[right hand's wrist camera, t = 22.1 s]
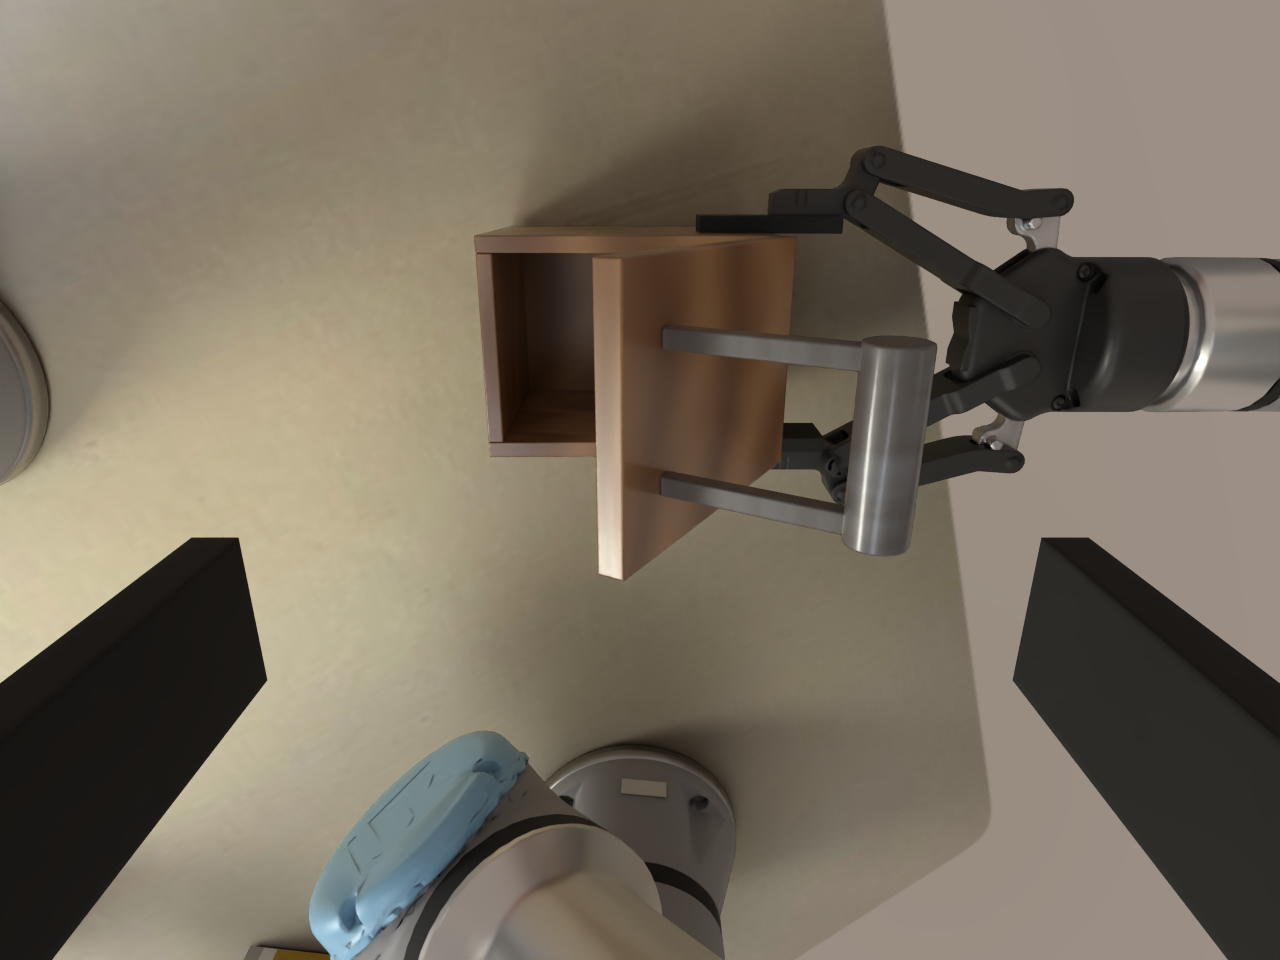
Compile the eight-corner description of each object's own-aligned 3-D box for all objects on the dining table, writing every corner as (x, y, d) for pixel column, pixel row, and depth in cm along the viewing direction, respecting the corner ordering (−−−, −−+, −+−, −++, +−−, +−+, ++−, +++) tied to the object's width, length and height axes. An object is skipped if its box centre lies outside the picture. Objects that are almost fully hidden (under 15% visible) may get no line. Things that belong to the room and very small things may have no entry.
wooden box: (519, 398, 46) (489, 457, 35) (510, 226, 42) (474, 235, 32) (736, 397, 46) (768, 455, 36) (744, 226, 43) (782, 235, 32)
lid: (597, 575, 24) (877, 655, 20) (590, 256, 21) (926, 271, 17) (760, 458, 35) (964, 493, 31) (774, 236, 32) (1005, 242, 28)
